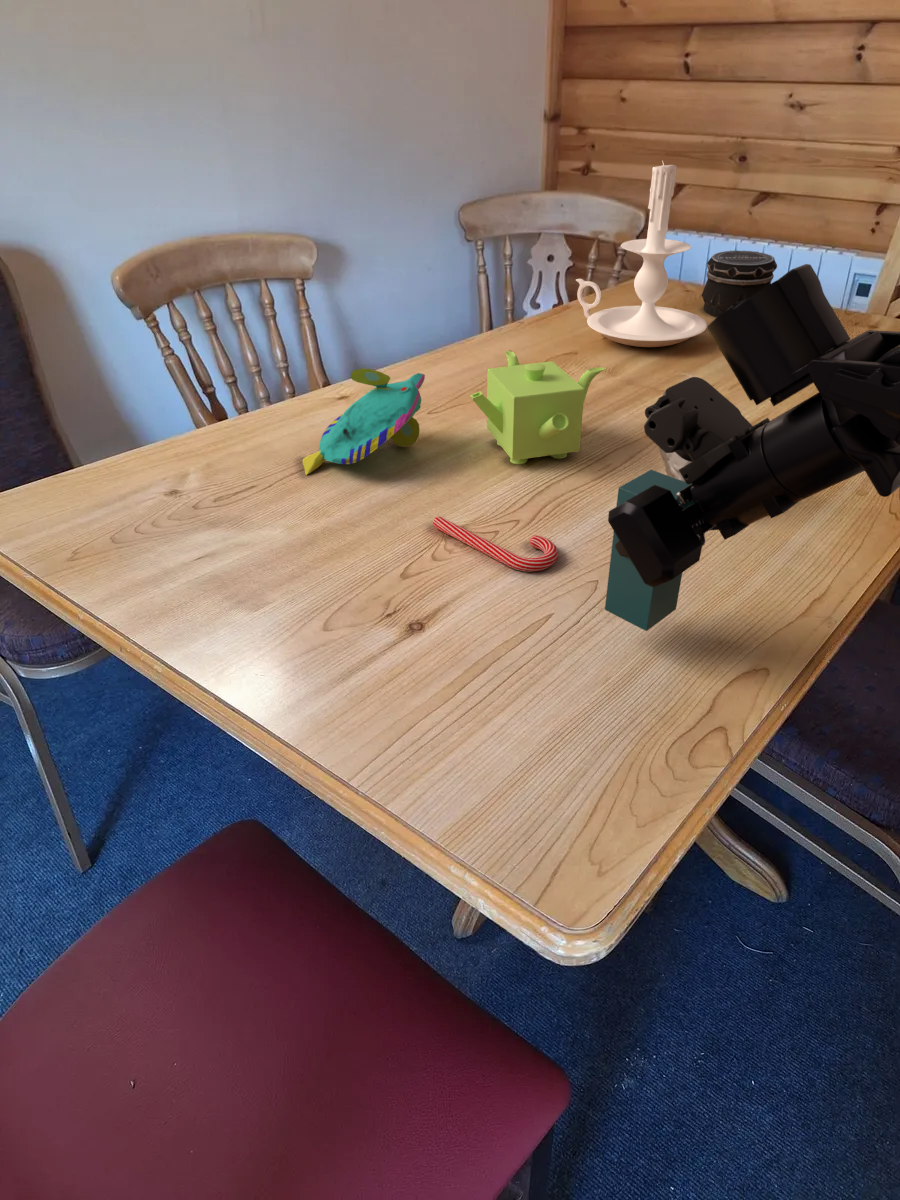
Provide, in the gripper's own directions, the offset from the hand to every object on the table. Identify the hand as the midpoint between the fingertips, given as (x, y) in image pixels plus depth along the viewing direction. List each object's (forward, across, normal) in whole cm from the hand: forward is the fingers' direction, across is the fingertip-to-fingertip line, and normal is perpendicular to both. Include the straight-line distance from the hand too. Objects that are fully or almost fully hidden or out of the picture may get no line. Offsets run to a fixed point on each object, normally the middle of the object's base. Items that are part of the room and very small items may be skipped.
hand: (635, 539), depth 65 cm
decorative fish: (+39, -7, -25) cm, 47 cm away
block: (+4, 0, +6) cm, 7 cm away
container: (+39, -97, -25) cm, 108 cm away
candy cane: (+21, -2, -6) cm, 22 cm away
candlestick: (+42, -71, -28) cm, 87 cm away
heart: (+14, -26, +1) cm, 29 cm away
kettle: (+30, -24, -16) cm, 42 cm away
